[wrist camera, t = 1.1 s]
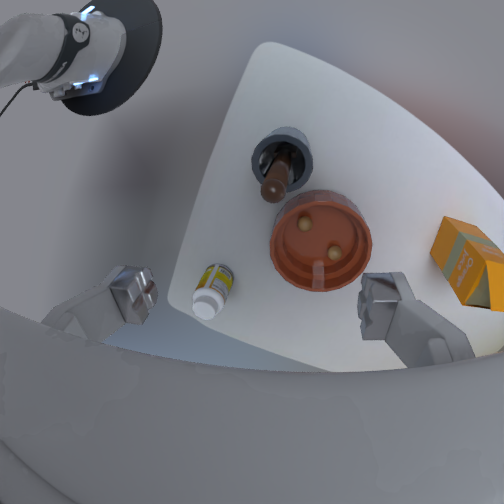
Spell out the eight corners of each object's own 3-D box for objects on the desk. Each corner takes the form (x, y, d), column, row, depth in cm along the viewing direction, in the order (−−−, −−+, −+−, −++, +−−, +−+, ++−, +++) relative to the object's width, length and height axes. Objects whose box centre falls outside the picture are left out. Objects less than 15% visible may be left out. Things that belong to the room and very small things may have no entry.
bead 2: (326, 255, 44) (327, 263, 42) (327, 242, 43) (328, 250, 41) (340, 255, 44) (341, 263, 42) (341, 243, 43) (343, 250, 41)
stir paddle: (277, 154, 38) (252, 207, 19) (277, 142, 37) (250, 182, 18) (297, 154, 37) (292, 207, 19) (296, 142, 36) (292, 182, 18)
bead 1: (297, 227, 43) (296, 234, 41) (297, 213, 42) (297, 219, 40) (312, 227, 42) (312, 234, 40) (312, 213, 41) (313, 220, 39)
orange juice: (462, 261, 40) (509, 333, 23) (429, 253, 41) (475, 333, 24) (477, 225, 36) (536, 290, 19) (443, 214, 37) (505, 284, 20)
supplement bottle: (206, 284, 53) (188, 319, 44) (205, 260, 50) (185, 295, 41) (233, 289, 52) (220, 326, 44) (234, 265, 49) (220, 301, 41)
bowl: (274, 271, 49) (271, 290, 44) (271, 188, 41) (267, 200, 36) (358, 273, 46) (363, 292, 41) (369, 191, 38) (377, 203, 34)
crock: (266, 168, 39) (253, 192, 29) (264, 127, 36) (249, 135, 26) (309, 168, 38) (312, 192, 28) (308, 126, 35) (312, 134, 25)
